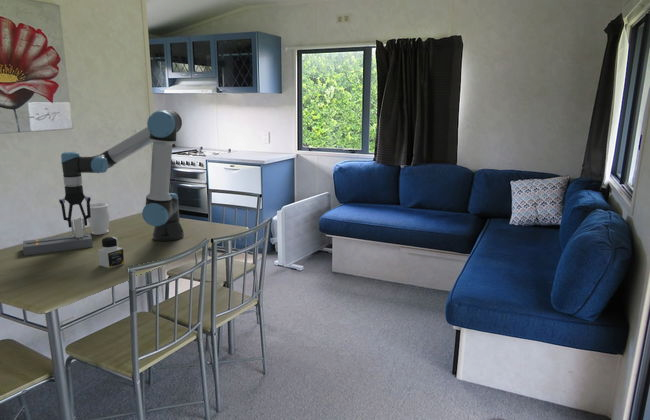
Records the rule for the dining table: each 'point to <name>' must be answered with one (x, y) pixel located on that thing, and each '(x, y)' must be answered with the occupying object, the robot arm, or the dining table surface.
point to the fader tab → (78, 227)
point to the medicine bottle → (110, 253)
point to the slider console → (56, 244)
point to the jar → (99, 218)
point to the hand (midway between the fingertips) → (78, 232)
